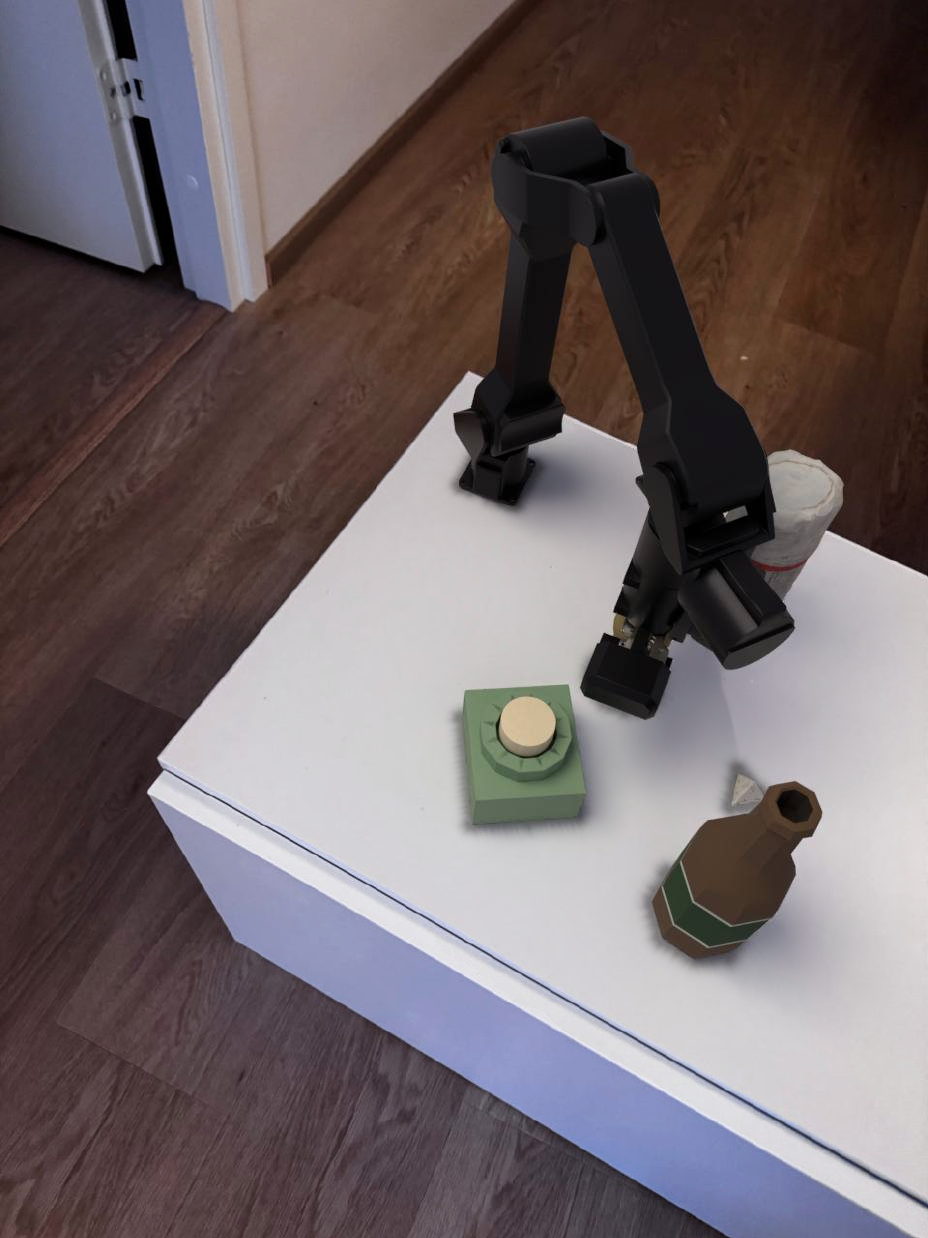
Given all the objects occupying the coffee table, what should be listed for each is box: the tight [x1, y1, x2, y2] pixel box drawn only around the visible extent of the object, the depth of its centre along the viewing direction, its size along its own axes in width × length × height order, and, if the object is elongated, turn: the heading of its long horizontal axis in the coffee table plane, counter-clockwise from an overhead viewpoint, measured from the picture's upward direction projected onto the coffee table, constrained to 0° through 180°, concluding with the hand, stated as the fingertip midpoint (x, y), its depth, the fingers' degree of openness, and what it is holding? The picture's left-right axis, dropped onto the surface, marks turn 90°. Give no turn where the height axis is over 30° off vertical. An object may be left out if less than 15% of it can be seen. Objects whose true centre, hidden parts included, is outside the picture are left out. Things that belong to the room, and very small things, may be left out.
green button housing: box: [461, 684, 587, 825], centre depth 82 cm, size 10×9×8 cm
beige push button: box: [499, 697, 556, 757], centre depth 78 cm, size 4×4×2 cm
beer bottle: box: [651, 780, 823, 960], centre depth 69 cm, size 8×8×24 cm
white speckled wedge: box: [730, 773, 764, 807], centre depth 85 cm, size 4×3×3 cm
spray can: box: [724, 449, 845, 602], centre depth 86 cm, size 8×8×20 cm
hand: (632, 659), depth 87 cm, fingers closed on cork, 4 cm apart
